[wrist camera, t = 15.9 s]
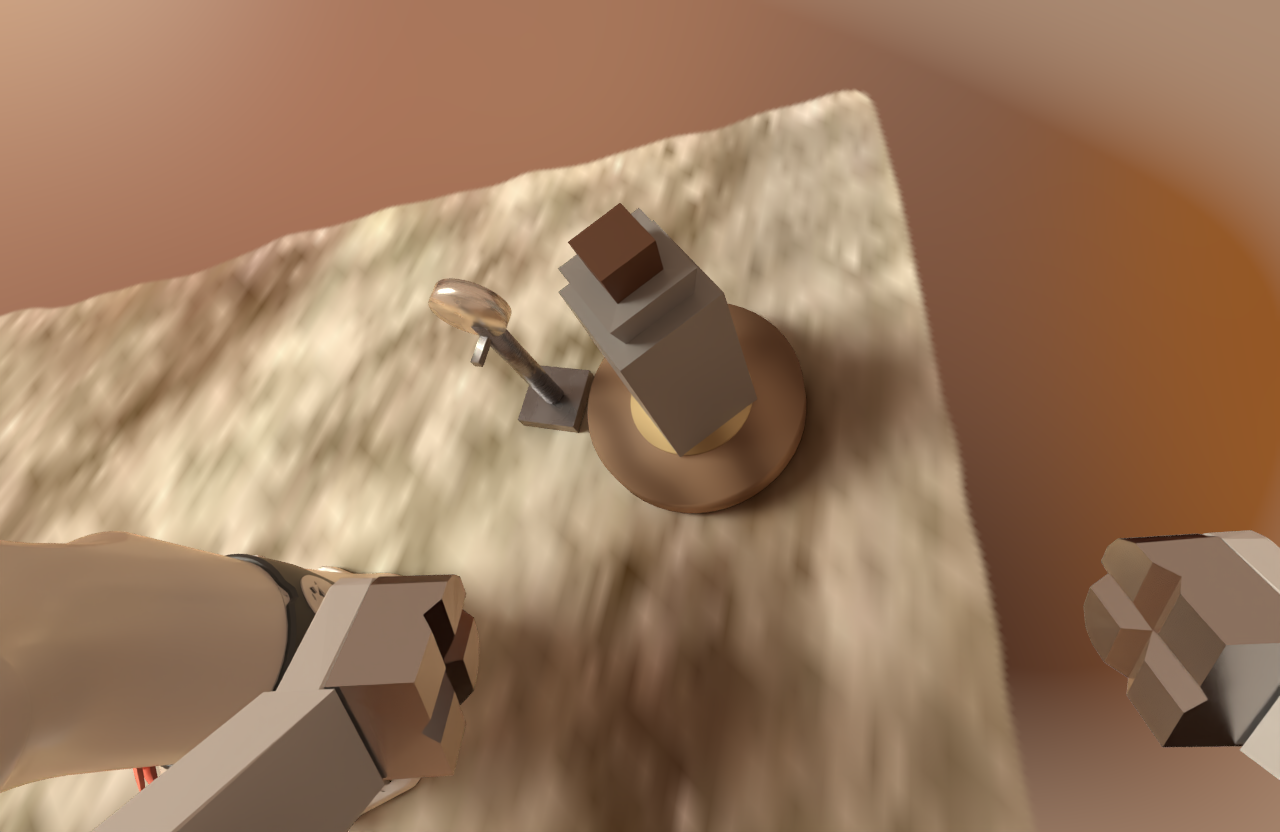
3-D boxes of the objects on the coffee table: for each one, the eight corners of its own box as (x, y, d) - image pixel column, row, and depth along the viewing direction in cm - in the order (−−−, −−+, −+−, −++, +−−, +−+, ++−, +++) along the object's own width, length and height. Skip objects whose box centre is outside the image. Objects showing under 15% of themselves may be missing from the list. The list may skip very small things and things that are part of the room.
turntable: (677, 559, 46) (668, 551, 44) (562, 405, 54) (548, 391, 52) (855, 414, 47) (854, 399, 44) (714, 282, 54) (708, 263, 52)
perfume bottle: (629, 391, 50) (523, 243, 34) (701, 337, 50) (629, 163, 34) (680, 457, 46) (589, 327, 31) (757, 399, 46) (706, 238, 31)
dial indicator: (577, 435, 53) (469, 328, 38) (523, 427, 55) (400, 323, 40) (594, 376, 55) (497, 253, 40) (541, 371, 57) (429, 251, 42)
